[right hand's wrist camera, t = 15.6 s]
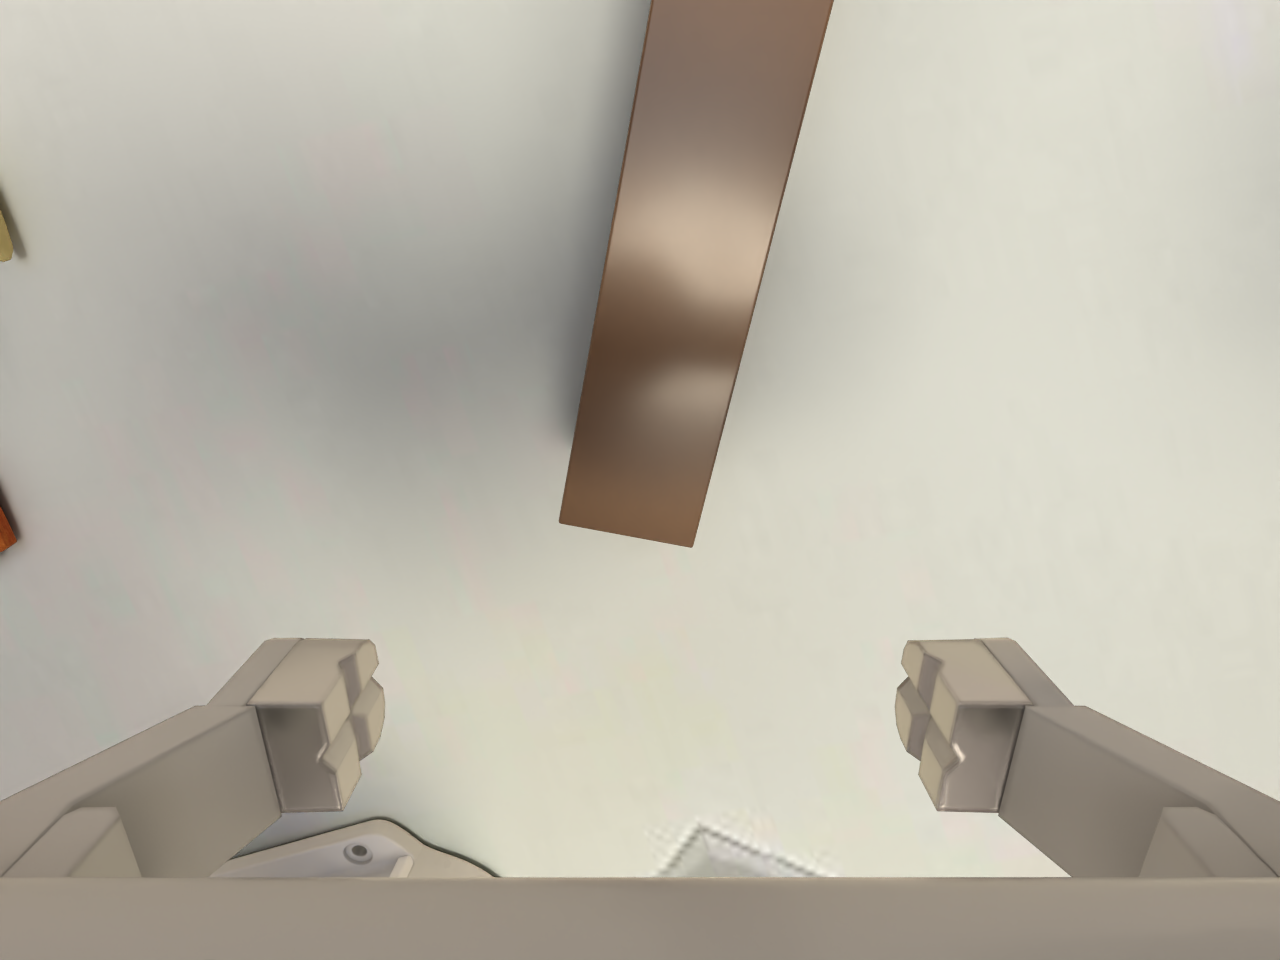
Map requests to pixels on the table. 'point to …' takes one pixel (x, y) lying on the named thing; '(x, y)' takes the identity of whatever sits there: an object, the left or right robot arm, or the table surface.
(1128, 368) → the table surface
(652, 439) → the bar
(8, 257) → the toy gun
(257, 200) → the table surface
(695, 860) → the table surface
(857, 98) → the table surface
